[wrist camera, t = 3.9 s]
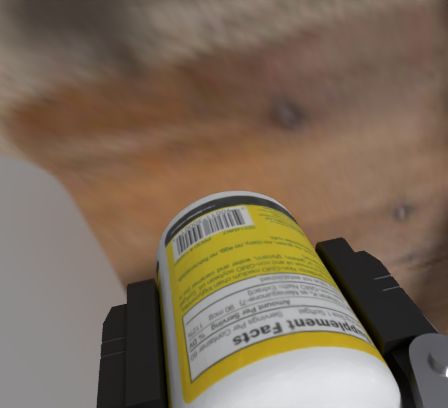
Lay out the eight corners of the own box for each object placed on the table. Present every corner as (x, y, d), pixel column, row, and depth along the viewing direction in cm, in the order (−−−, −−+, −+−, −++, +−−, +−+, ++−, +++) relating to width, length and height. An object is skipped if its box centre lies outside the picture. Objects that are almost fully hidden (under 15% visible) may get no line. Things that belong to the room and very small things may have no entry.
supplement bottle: (257, 310, 15) (369, 630, 8) (134, 288, 13) (137, 676, 6) (323, 208, 13) (556, 515, 6) (189, 165, 11) (290, 534, 4)
